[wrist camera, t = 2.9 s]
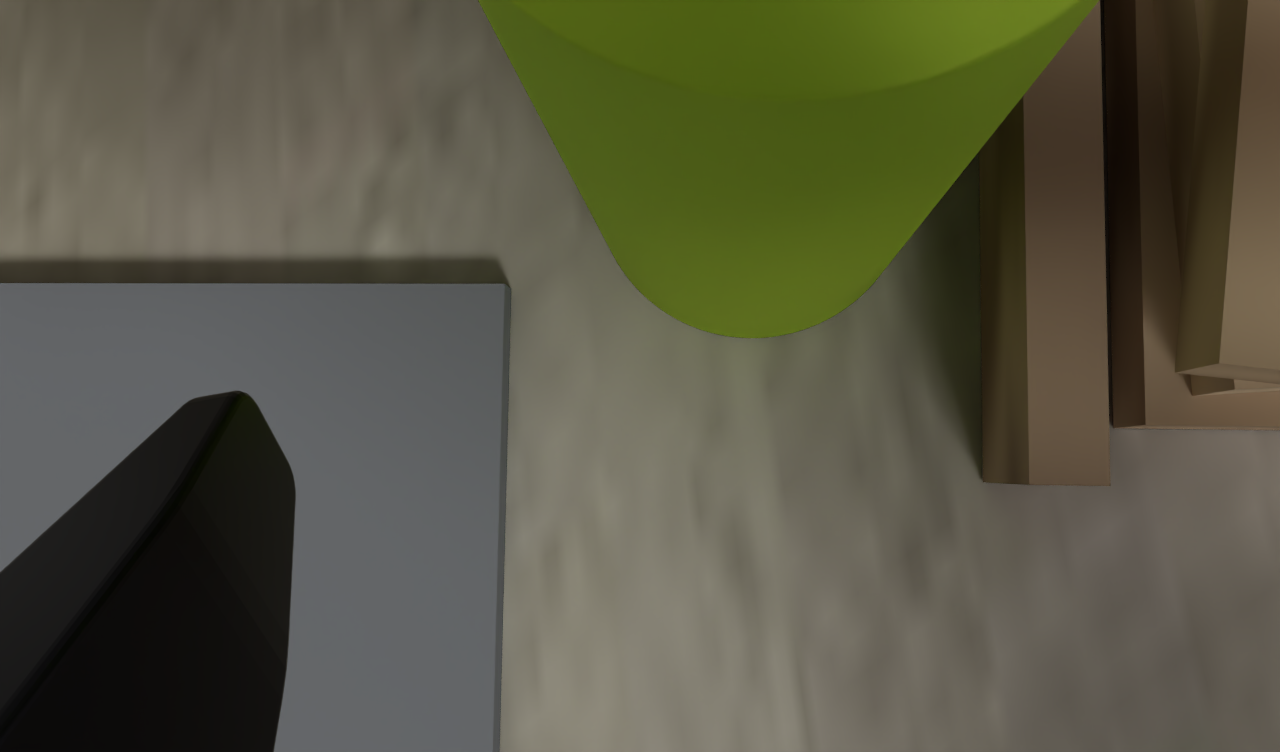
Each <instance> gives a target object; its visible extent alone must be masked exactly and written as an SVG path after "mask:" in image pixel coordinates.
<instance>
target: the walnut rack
mask: <svg viewBox="0 0 1280 752" xmlns="http://www.w3.org/2000/svg"><path fill="white" fill-rule="evenodd" d="M979 189H980V275H981V361H982V447H983V482H989V483H1007V484H1025V485H1078V486H1110V440H1109V394H1108V347H1107V301H1106V254H1105V208H1104V161H1103V114H1102V68H1101V21H1100V0H1099V1H1098V3H1097V4H1096V5H1095V6H1094V8H1093V9H1092V10H1091V11H1090V13H1089V14H1088V15H1087V16H1086V18H1085V19H1084V20H1083V21H1082V23H1081V24H1080V25H1079V26H1078V28H1077V29H1076V30H1075V31H1074V33H1073V34H1072V35H1071V36H1070V38H1069V39H1068V40H1067V41H1066V43H1065V44H1064V45H1063V46H1062V48H1061V49H1060V50H1059V52H1058V53H1057V54H1056V55H1055V57H1054V58H1053V59H1052V60H1051V62H1050V63H1049V64H1048V65H1047V67H1046V68H1045V69H1044V70H1043V72H1042V73H1041V74H1040V75H1039V77H1038V78H1037V79H1036V80H1035V82H1034V83H1033V84H1032V85H1031V87H1030V88H1029V89H1028V90H1027V92H1026V93H1025V94H1024V95H1023V97H1022V98H1021V99H1020V100H1019V102H1018V103H1017V104H1016V105H1015V107H1014V108H1013V109H1012V110H1011V112H1010V113H1009V114H1008V115H1007V117H1006V118H1005V119H1004V121H1003V122H1002V123H1001V124H1000V126H999V127H998V128H997V129H996V131H995V132H994V133H993V134H992V136H991V137H990V138H989V139H988V141H987V142H986V143H985V144H984V146H983V147H982V148H981V149H980V151H979Z"/></svg>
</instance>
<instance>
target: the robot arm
mask: <svg viewBox="0 0 1280 752" xmlns="http://www.w3.org/2000/svg"><path fill="white" fill-rule="evenodd" d="M295 504H296V488H295V481H294V476H293V472H292V469H291V467H290V464H289V462H288V460H287V458H286V456H285V455H284V453H283V451H282V449H281V447H280V445H279V443H278V442H277V440H276V438H275V436H274V434H273V432H272V431H271V429H270V427H269V425H268V423H267V421H266V419H265V418H264V416H263V414H262V412H261V410H260V408H259V406H258V405H257V403H256V402H255V401H254V399H253V398H252V397H251V396H250V395H249V394H247V393H245V392H242V391H230V392H224V393H219V394H213V395H207V396H202V397H197V398H193V399H191V400H189V401H188V402H186V403H185V404H184V405H183V406H182V407H181V408H179V409H178V410H177V411H176V412H175V413H174V414H173V415H172V416H171V417H170V418H169V419H167V420H166V421H165V422H164V423H163V424H162V425H161V426H160V427H159V428H158V429H156V430H155V431H154V432H153V433H152V434H151V435H150V436H149V437H148V438H147V439H145V440H144V441H143V442H142V443H141V444H140V445H139V446H138V447H137V448H136V449H135V450H133V451H132V452H131V453H130V454H129V455H128V456H127V457H126V458H125V459H124V460H122V461H121V462H120V463H119V464H118V465H117V466H116V467H115V468H114V469H113V470H112V471H110V472H109V473H108V474H107V475H106V476H105V477H104V478H103V479H102V480H101V481H99V482H98V483H97V484H96V485H95V486H94V487H93V488H92V489H91V490H90V491H89V492H87V493H86V494H85V495H84V496H83V497H82V498H81V499H80V500H79V501H78V502H76V503H75V504H74V505H73V506H72V507H71V508H70V509H69V510H68V511H67V512H65V513H64V514H63V515H62V516H61V517H60V518H59V519H58V520H57V521H56V522H55V523H53V524H52V525H51V526H50V527H49V528H48V529H47V530H46V531H45V532H44V533H42V534H41V535H40V536H39V537H38V538H37V539H36V540H35V541H34V542H33V543H32V544H30V545H29V546H28V547H27V548H26V549H25V550H24V551H23V552H22V553H21V554H19V555H18V556H17V557H16V558H15V559H14V560H13V561H12V562H11V563H10V564H9V565H7V566H6V567H5V568H4V569H3V570H2V571H1V572H0V752H274V747H275V742H276V736H277V730H278V724H279V718H280V712H281V706H282V700H283V693H284V686H285V679H286V672H287V661H288V648H289V631H290V610H291V589H292V568H293V547H294V526H295Z"/></svg>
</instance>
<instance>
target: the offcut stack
mask: <svg viewBox="0 0 1280 752" xmlns="http://www.w3.org/2000/svg"><path fill="white" fill-rule="evenodd" d="M1104 20H1105V66H1106V112H1107V157H1108V203H1109V249H1110V295H1111V341H1112V386H1113V428H1137V429H1222V430H1280V0H1104Z"/></svg>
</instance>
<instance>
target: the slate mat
mask: <svg viewBox="0 0 1280 752" xmlns="http://www.w3.org/2000/svg"><path fill="white" fill-rule="evenodd" d="M510 318H511V289H510V288H509V287H508V286H507V285H506V284H305V283H0V572H1V571H2V570H3V569H4V568H5V567H6V566H7V565H9V564H10V563H11V562H12V561H13V560H14V559H15V558H16V557H17V556H18V555H19V554H21V553H22V552H23V551H24V550H25V549H26V548H27V547H28V546H29V545H30V544H32V543H33V542H34V541H35V540H36V539H37V538H38V537H39V536H40V535H41V534H42V533H44V532H45V531H46V530H47V529H48V528H49V527H50V526H51V525H52V524H53V523H55V522H56V521H57V520H58V519H59V518H60V517H61V516H62V515H63V514H64V513H65V512H67V511H68V510H69V509H70V508H71V507H72V506H73V505H74V504H75V503H76V502H78V501H79V500H80V499H81V498H82V497H83V496H84V495H85V494H86V493H87V492H89V491H90V490H91V489H92V488H93V487H94V486H95V485H96V484H97V483H98V482H99V481H101V480H102V479H103V478H104V477H105V476H106V475H107V474H108V473H109V472H110V471H112V470H113V469H114V468H115V467H116V466H117V465H118V464H119V463H120V462H121V461H122V460H124V459H125V458H126V457H127V456H128V455H129V454H130V453H131V452H132V451H133V450H135V449H136V448H137V447H138V446H139V445H140V444H141V443H142V442H143V441H144V440H145V439H147V438H148V437H149V436H150V435H151V434H152V433H153V432H154V431H155V430H156V429H158V428H159V427H160V426H161V425H162V424H163V423H164V422H165V421H166V420H167V419H169V418H170V417H171V416H172V415H173V414H174V413H175V412H176V411H177V410H178V409H179V408H181V407H182V406H183V405H184V404H185V403H186V402H188V401H189V400H191V399H193V398H197V397H202V396H207V395H213V394H219V393H224V392H230V391H242V392H245V393H247V394H249V395H250V396H251V397H252V398H253V399H254V401H255V402H256V403H257V405H258V406H259V408H260V410H261V412H262V414H263V416H264V418H265V419H266V421H267V423H268V425H269V427H270V429H271V431H272V432H273V434H274V436H275V438H276V440H277V442H278V443H279V445H280V447H281V449H282V451H283V453H284V455H285V456H286V458H287V460H288V462H289V464H290V467H291V469H292V472H293V476H294V481H295V488H296V504H295V526H294V547H293V568H292V589H291V610H290V631H289V648H288V661H287V672H286V679H285V686H284V693H283V700H282V706H281V712H280V718H279V724H278V730H277V736H276V742H275V747H274V752H500V713H501V674H502V634H503V594H504V555H505V515H506V476H507V436H508V397H509V357H510Z"/></svg>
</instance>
